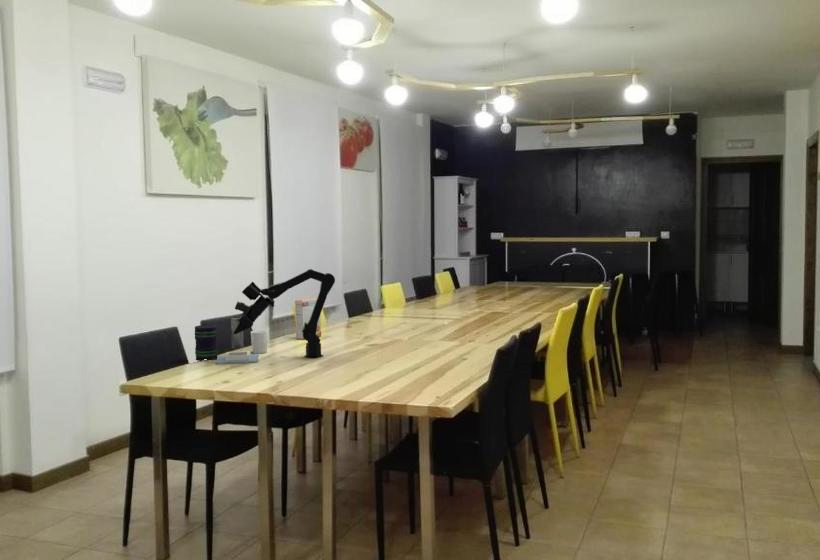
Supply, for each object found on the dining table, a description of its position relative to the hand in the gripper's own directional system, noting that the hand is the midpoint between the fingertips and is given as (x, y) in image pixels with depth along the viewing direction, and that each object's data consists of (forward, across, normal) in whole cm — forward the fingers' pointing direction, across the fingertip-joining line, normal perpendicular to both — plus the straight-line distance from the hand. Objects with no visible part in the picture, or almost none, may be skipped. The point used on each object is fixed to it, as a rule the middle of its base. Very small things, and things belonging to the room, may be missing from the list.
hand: (234, 332), depth 331 cm
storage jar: (+18, -6, 0) cm, 19 cm away
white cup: (+2, -18, +16) cm, 24 cm away
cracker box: (-16, -58, +34) cm, 69 cm away
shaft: (+4, 0, +6) cm, 7 cm away
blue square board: (+8, 0, +10) cm, 12 cm away
